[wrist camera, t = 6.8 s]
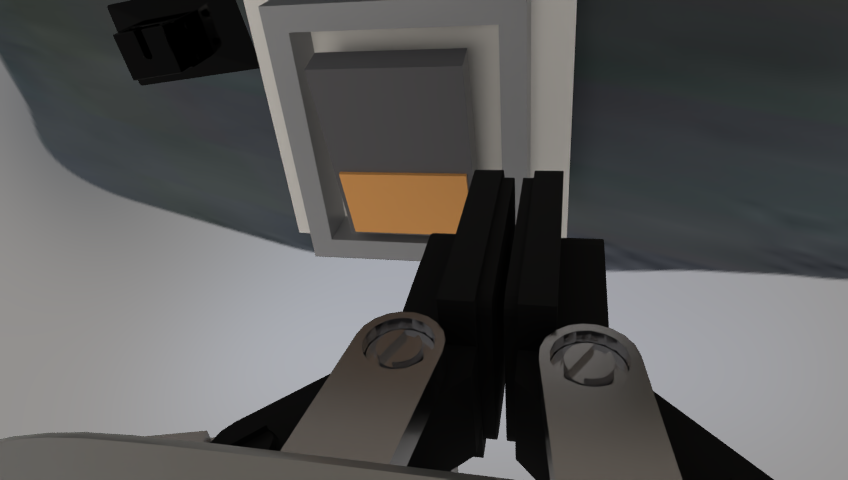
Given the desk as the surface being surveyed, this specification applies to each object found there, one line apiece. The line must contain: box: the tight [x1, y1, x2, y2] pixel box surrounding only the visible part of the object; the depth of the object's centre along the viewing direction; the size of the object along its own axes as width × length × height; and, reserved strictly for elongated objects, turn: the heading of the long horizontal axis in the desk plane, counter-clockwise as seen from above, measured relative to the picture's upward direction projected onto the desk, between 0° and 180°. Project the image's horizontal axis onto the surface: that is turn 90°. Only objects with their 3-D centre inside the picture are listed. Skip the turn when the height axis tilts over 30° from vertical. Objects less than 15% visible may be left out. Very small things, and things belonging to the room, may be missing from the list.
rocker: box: [304, 48, 478, 236], centre depth 30 cm, size 7×10×2 cm
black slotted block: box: [108, 0, 260, 85], centre depth 40 cm, size 12×7×5 cm, turn 102°
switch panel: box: [244, 0, 577, 261], centre depth 34 cm, size 16×14×10 cm
